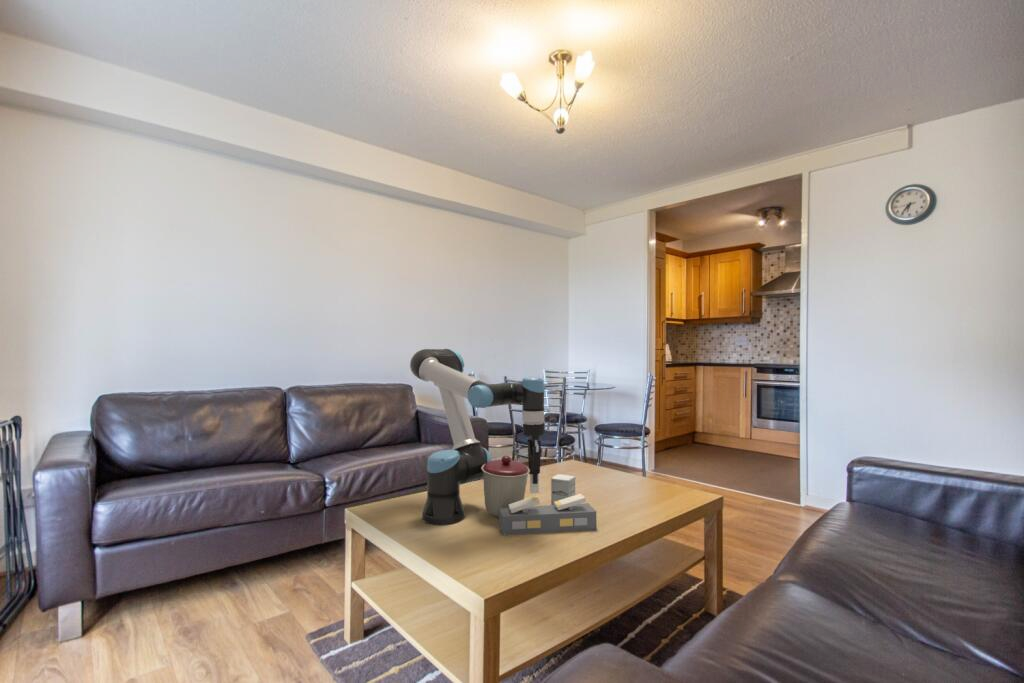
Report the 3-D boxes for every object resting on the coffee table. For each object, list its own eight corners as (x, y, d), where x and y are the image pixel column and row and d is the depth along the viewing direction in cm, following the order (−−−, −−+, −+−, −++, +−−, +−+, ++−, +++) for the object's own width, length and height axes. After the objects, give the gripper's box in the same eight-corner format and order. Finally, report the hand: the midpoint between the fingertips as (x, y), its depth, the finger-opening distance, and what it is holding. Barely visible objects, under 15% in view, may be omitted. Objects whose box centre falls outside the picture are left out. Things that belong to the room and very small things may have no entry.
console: (502, 535, 155) (502, 512, 155) (499, 525, 164) (499, 503, 164) (596, 529, 159) (596, 507, 160) (588, 520, 168) (588, 499, 169)
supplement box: (550, 511, 178) (550, 477, 178) (558, 506, 184) (557, 473, 185) (569, 514, 174) (568, 480, 175) (576, 508, 181) (575, 475, 181)
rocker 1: (511, 513, 158) (510, 508, 158) (509, 508, 163) (508, 504, 163) (539, 503, 159) (538, 499, 159) (536, 499, 164) (535, 494, 164)
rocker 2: (558, 510, 160) (557, 506, 160) (554, 505, 165) (553, 501, 165) (585, 501, 161) (584, 497, 161) (581, 497, 166) (580, 493, 166)
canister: (522, 525, 166) (526, 465, 165) (473, 518, 169) (476, 460, 168) (531, 506, 183) (534, 452, 182) (486, 500, 187) (488, 447, 186)
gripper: (548, 425, 156) (549, 497, 155) (540, 420, 169) (541, 486, 168) (526, 426, 155) (527, 498, 154) (519, 420, 168) (520, 487, 167)
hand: (534, 492), depth 161 cm, fingers closed
